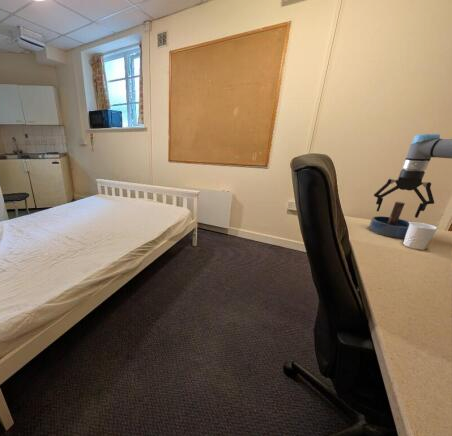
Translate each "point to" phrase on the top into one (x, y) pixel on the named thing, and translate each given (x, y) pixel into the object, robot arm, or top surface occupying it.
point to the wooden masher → (395, 213)
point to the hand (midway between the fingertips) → (396, 213)
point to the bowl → (389, 227)
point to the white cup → (419, 235)
